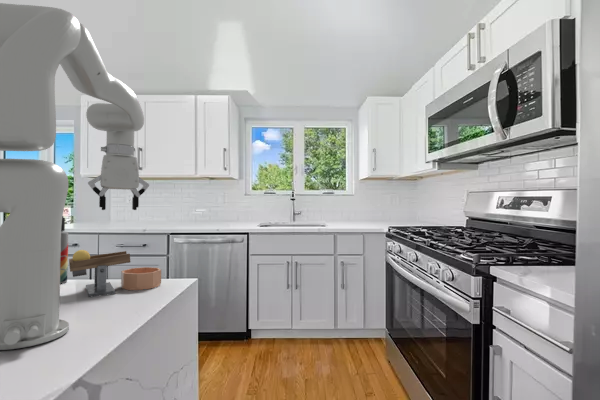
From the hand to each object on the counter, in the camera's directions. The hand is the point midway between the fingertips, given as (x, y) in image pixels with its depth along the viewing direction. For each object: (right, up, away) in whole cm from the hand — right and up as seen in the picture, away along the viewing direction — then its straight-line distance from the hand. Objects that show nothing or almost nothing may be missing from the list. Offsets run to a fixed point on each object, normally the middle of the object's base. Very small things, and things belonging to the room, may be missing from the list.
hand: (119, 209), depth 106 cm
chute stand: (0, -22, -10) cm, 24 cm away
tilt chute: (-2, -17, -7) cm, 18 cm away
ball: (-3, -12, -13) cm, 18 cm away
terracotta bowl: (+9, -22, -4) cm, 24 cm away
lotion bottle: (-18, -22, -2) cm, 28 cm away
